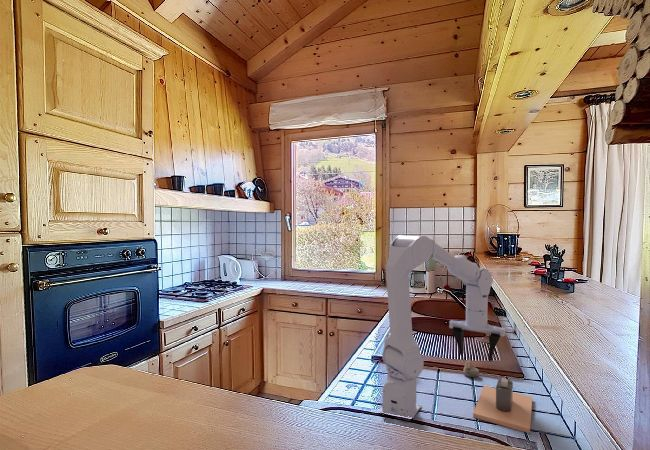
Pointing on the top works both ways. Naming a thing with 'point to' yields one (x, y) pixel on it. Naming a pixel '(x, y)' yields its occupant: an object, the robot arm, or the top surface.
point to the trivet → (513, 419)
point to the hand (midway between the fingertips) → (475, 356)
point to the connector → (504, 395)
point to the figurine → (470, 370)
